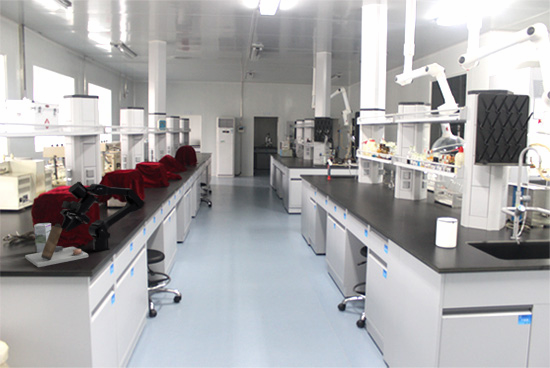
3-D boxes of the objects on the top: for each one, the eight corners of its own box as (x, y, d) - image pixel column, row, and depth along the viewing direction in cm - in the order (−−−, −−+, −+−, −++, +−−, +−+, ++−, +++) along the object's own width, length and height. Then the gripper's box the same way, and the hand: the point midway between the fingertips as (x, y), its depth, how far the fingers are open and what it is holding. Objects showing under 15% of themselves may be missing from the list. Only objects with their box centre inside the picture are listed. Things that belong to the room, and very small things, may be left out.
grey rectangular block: (59, 249, 207) (59, 246, 207) (62, 250, 205) (63, 247, 205) (50, 249, 203) (50, 246, 203) (53, 250, 201) (53, 247, 201)
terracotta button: (79, 252, 201) (79, 248, 200) (82, 253, 198) (82, 249, 198) (71, 253, 198) (71, 249, 198) (74, 255, 196) (74, 251, 195)
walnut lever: (45, 258, 193) (57, 223, 197) (51, 260, 189) (64, 225, 193) (39, 257, 191) (52, 222, 195) (46, 259, 187) (59, 223, 191)
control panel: (73, 249, 213) (73, 245, 213) (88, 257, 199) (88, 252, 199) (25, 258, 198) (25, 254, 197) (37, 267, 184) (37, 262, 183)
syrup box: (53, 250, 212) (51, 222, 210) (47, 253, 206) (45, 225, 204) (41, 250, 212) (39, 222, 210) (35, 253, 206) (33, 225, 204)
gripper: (63, 193, 204) (41, 218, 196) (82, 196, 193) (60, 223, 185) (79, 206, 211) (59, 231, 203) (99, 210, 200) (78, 236, 192)
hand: (63, 230), depth 196 cm, fingers open, 5 cm apart
